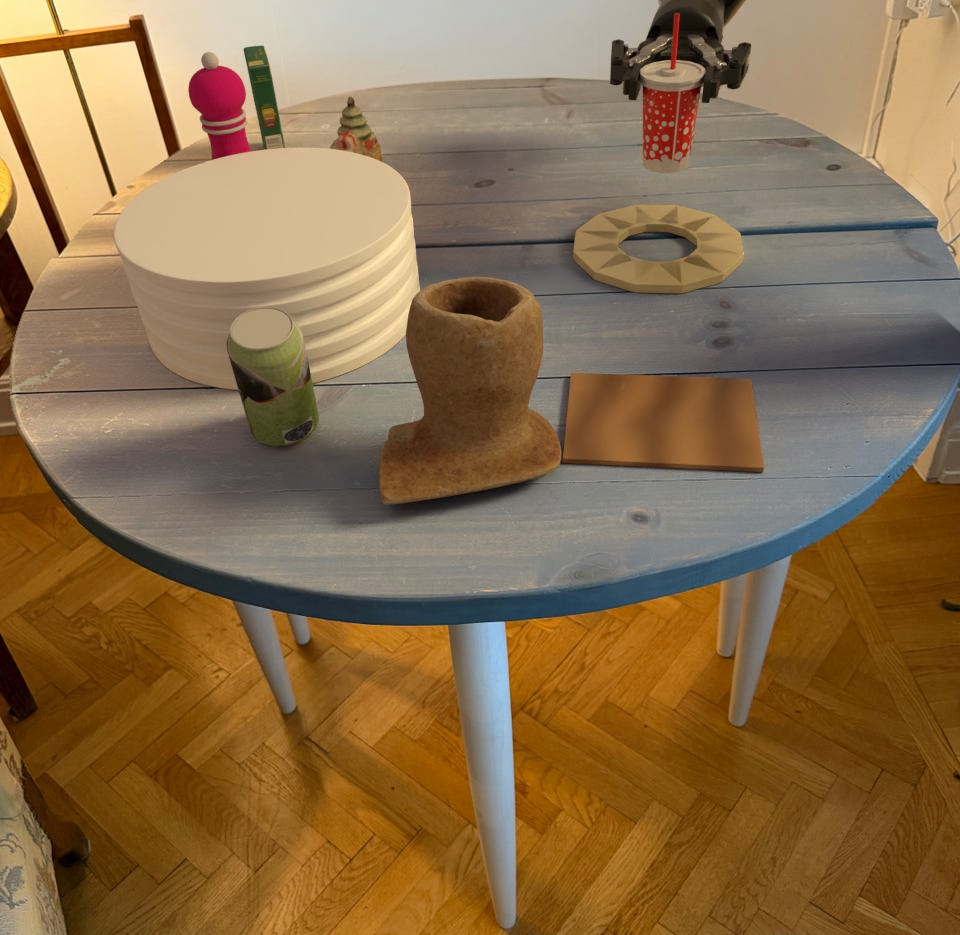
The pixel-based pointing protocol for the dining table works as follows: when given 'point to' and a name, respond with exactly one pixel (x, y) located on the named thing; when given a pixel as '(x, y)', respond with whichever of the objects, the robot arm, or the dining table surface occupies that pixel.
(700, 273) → the tan faceted ring
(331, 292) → the plate stack
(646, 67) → the beverage cup
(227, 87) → the pepper mill
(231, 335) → the beverage can
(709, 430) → the cork mat
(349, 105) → the ornament
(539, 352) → the stone cup
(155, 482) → the dining table surface
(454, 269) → the dining table surface
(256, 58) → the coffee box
